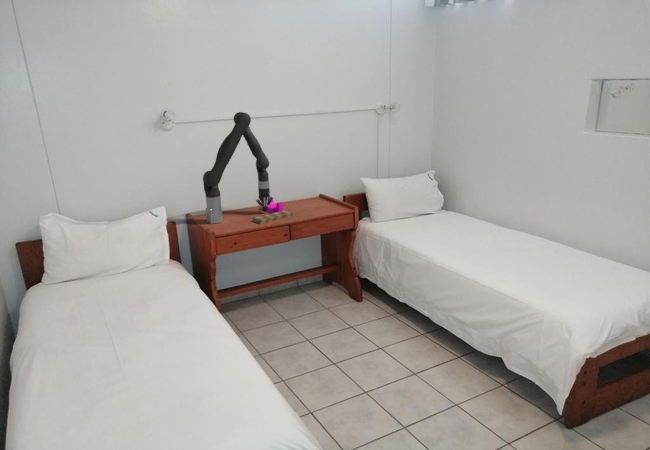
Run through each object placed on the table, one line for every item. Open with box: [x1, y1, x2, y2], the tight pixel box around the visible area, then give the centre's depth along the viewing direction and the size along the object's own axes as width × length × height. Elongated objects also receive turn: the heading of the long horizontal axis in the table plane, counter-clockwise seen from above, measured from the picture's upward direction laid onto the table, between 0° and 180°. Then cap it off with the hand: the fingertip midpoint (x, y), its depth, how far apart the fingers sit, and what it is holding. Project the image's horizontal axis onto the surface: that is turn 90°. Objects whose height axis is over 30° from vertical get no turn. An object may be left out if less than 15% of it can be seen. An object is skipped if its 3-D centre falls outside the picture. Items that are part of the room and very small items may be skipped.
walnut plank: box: [252, 210, 293, 225], centre depth 310 cm, size 26×9×2 cm, turn 131°
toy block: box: [267, 198, 284, 214], centre depth 326 cm, size 15×6×8 cm, turn 40°
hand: (265, 211), depth 321 cm, fingers closed
